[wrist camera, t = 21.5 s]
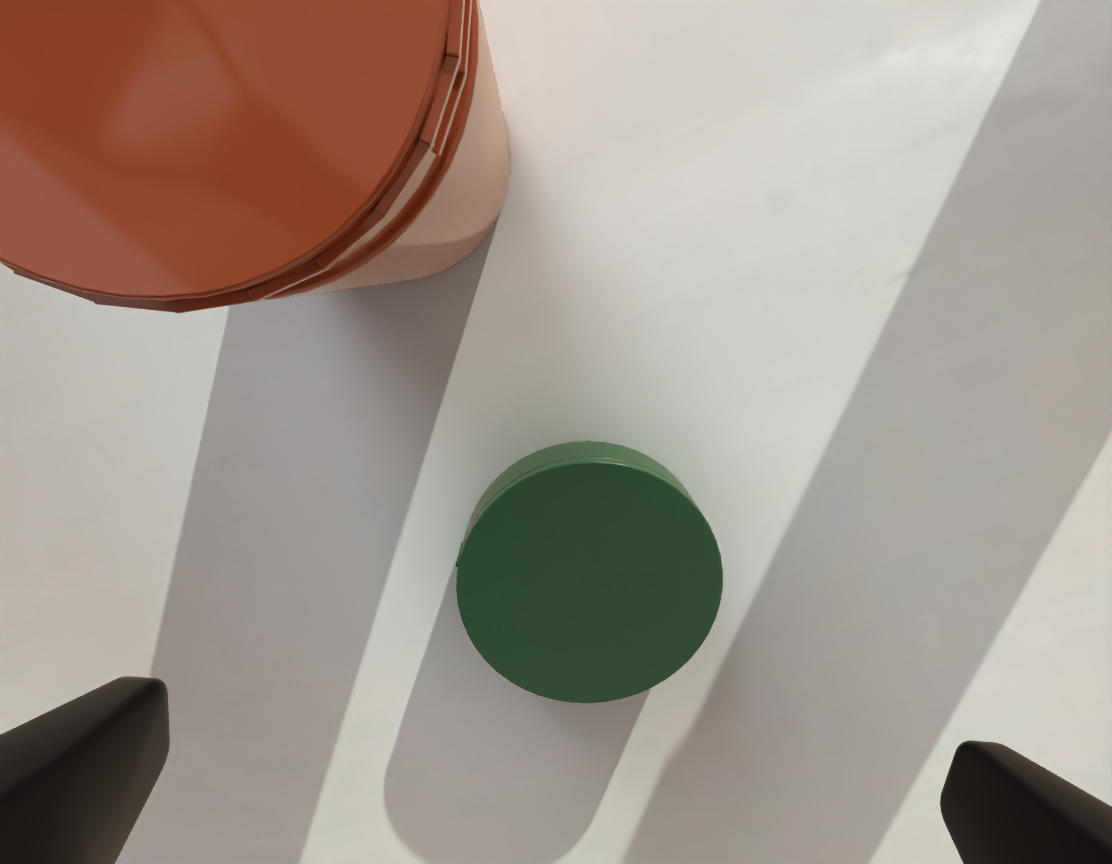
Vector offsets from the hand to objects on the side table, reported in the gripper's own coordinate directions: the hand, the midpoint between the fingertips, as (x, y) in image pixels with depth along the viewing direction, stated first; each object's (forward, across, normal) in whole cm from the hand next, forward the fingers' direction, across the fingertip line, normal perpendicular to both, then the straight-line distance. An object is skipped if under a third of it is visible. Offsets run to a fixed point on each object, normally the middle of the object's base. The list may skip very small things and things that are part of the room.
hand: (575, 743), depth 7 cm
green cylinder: (+9, -1, +3) cm, 10 cm away
